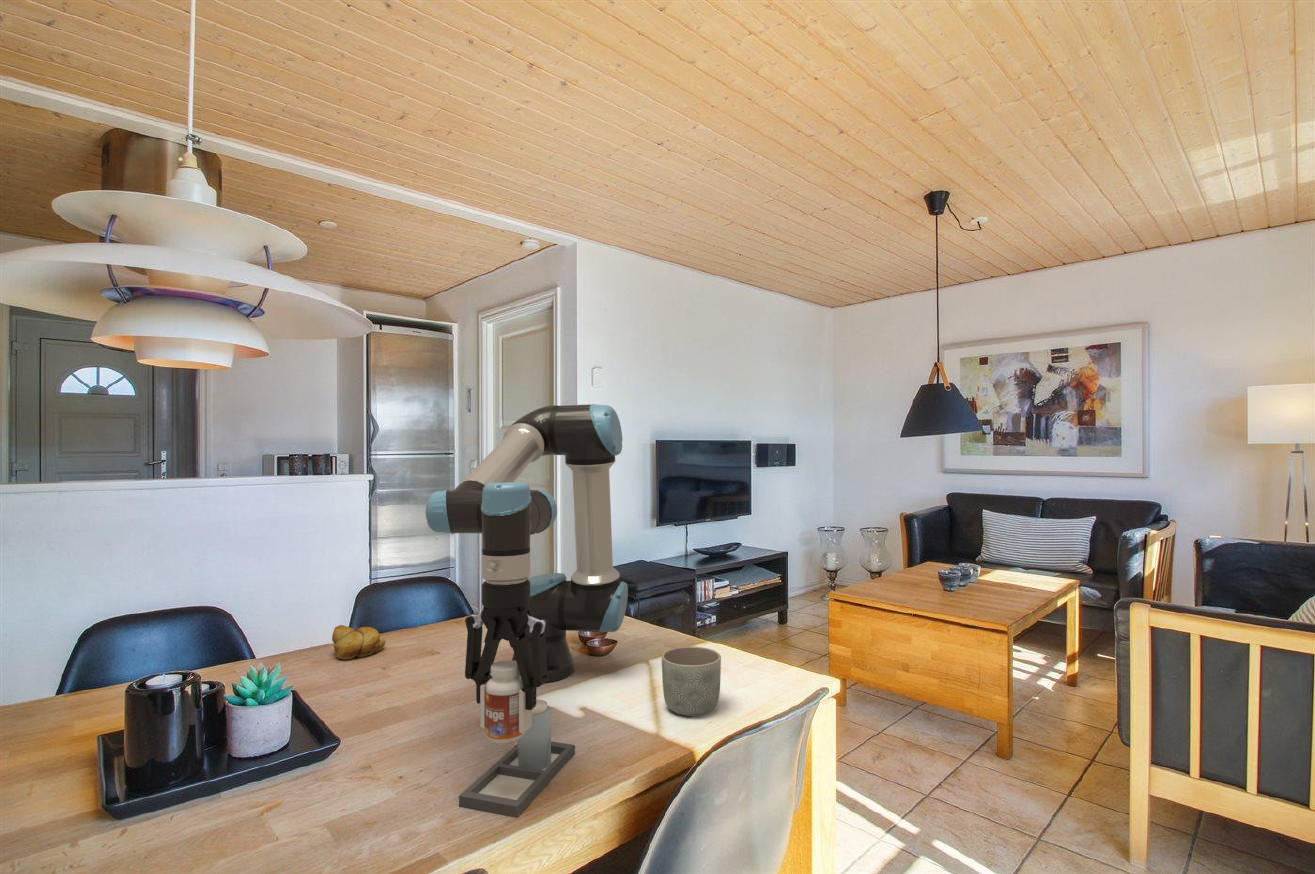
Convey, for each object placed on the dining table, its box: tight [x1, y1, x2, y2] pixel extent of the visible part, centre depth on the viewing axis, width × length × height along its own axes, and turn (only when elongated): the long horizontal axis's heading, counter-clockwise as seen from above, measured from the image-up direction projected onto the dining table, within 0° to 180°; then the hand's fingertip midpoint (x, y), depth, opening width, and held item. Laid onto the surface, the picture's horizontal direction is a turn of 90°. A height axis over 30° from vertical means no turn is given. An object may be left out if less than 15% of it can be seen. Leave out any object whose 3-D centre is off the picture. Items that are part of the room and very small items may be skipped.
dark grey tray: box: [458, 741, 576, 818], centre depth 104 cm, size 10×20×2 cm, turn 163°
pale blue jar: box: [517, 699, 552, 770], centre depth 108 cm, size 6×6×10 cm
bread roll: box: [331, 624, 386, 660], centre depth 167 cm, size 13×10×8 cm
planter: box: [661, 645, 722, 717], centre depth 131 cm, size 12×12×11 cm
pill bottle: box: [485, 659, 525, 744], centre depth 99 cm, size 6×6×11 cm
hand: (506, 726), depth 99 cm, fingers closed on pill bottle, 6 cm apart
